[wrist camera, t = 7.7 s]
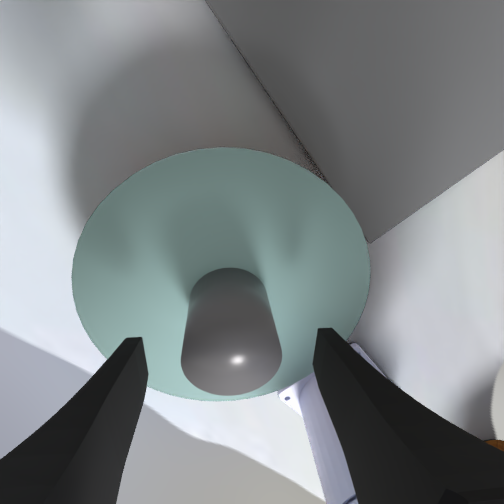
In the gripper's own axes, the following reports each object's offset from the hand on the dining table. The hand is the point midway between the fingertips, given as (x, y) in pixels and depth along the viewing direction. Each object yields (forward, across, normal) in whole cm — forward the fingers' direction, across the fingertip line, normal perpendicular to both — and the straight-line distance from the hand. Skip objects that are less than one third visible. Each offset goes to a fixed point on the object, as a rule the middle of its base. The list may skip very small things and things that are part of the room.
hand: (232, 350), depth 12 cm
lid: (+4, 0, 0) cm, 4 cm away
